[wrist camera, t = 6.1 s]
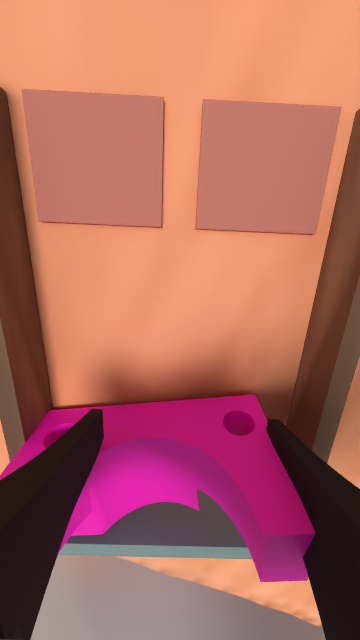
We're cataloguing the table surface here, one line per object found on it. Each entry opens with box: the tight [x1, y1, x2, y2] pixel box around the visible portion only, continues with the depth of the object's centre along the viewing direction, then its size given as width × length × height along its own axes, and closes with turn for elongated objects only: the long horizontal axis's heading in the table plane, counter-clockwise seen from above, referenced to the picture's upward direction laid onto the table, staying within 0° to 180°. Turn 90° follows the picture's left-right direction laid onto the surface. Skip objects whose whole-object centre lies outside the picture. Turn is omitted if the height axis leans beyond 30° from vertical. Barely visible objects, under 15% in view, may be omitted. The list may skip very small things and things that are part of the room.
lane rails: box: [0, 87, 360, 463], centre depth 13 cm, size 20×26×3 cm
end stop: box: [58, 489, 252, 559], centre depth 17 cm, size 20×1×4 cm, turn 88°
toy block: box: [0, 394, 316, 582], centre depth 13 cm, size 15×6×8 cm, turn 96°
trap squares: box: [22, 89, 341, 235], centre depth 12 cm, size 16×6×1 cm, turn 88°
